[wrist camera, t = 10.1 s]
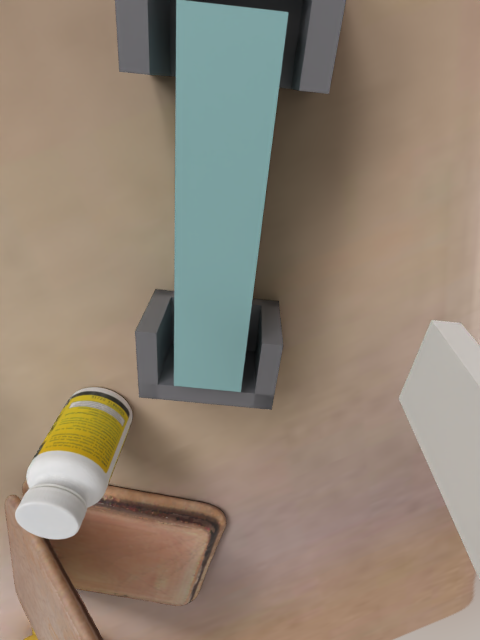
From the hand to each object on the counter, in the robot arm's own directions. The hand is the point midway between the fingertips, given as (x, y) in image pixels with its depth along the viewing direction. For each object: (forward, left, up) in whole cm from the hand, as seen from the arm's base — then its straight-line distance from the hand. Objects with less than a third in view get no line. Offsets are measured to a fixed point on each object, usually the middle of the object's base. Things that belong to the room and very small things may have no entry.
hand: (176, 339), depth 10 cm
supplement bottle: (+18, -9, -15) cm, 25 cm away
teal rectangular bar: (+1, 0, -14) cm, 14 cm away
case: (+38, -9, -15) cm, 42 cm away
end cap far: (+9, 0, -15) cm, 17 cm away
